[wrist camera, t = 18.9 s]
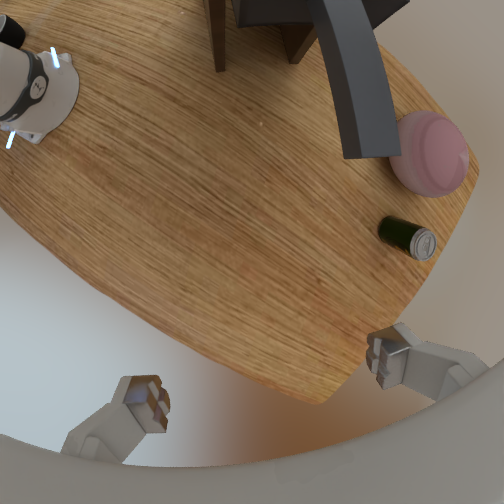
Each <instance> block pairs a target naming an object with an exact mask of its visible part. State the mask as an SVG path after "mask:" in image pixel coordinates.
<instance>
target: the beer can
mask: <svg viewBox="0 0 504 504" xmlns="http://www.w3.org/2000/svg"><path fill="white" fill-rule="evenodd" d="M378 232H379V236H380V238H381V240H382V241H383V242H384V243H386V244H388V245H390V246H391V247H393V248H395V249H397V250H399V251H401V252H403V253H404V254H406V255H408V256H410V257H412V258H413V259H415V260H418V261H427V260H429V259H430V258H431V257H432V256H433V254H434V253H435V250H436V246H437V239H436V236H435V235H434V233H433V232H431V231H430V230H429V229H427V228H425V227H422V226H419V225H417V224H414V223H411V222H408V221H405V220H403V219H400V218H397V217H394V216H389V217H387V218H385V219H383V220H382V221H381V223H380V225H379V229H378Z"/></svg>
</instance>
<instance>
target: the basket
mask: <svg viewBox="0 0 504 504" xmlns="http://www.w3.org/2000/svg"><path fill="white" fill-rule="evenodd" d="M231 1H232V5H233V10H234V14H235V19H236V23H237V28H244V27H254V26H268V25H314V27H315V30H316V33H317V37H318V40H319V44H320V47H321V51H322V55H323V58H324V62H325V66H326V70H327V74H328V78H329V83H330V87H331V91H332V96H333V101H334V105H335V110H336V115H337V121H338V126H339V132H340V138H341V144H342V150H343V157H344V159H361V158H375V157H391V156H401V155H402V153H401V146H400V139H399V133H398V127H397V121H396V116H395V111H394V106H393V101H392V96H391V92H390V88H389V83H388V79H387V76H386V72H385V68H384V64H383V61H382V58H381V54H380V51H379V48H378V45H377V41H376V38H375V36H374V33H373V29H375V28H376V27H377V26H379V25H380V24H381V23H382V22H384V21H385V20H386V19H387V18H389V17H390V16H391V15H393V14H394V13H395V12H396V11H398V10H399V9H401V8H402V7H403V6H405V5H406V4H407V3H408V2H410V0H231Z"/></svg>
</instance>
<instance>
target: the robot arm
mask: <svg viewBox="0 0 504 504" xmlns="http://www.w3.org/2000/svg"><path fill="white" fill-rule="evenodd" d="M51 51H52V53H50V52H47V51H43V52H42V53H38V54H35V53H33V52H31V51H26V50H18V49H16V48H13V47H11V46H9V45H7V44H4V43H2V42H0V124H1V127H0V129H1V130H3V131H10V132H11V134H10V137H9V140H8V143H7V146H6V148H10V145H11V142H12V139H13V136H14V133H16V134H17V135H19V136H21V137H23V138H24V139H26V140H28V141H30V142H31V143H34V144H38V143H40V142H41V140H42V139H43V138H44V137H45V135H46V134H47V133H48V132H50V131H51V130H53V129H55V128H56V127H57V126H59V125H60V124H61V123H62V122H63V121H64V120H65V118H66V117H67V116H68V114H69V113H70V111H71V110H72V108H73V106H74V104H75V101H76V98H77V95H78V90H79V77H78V74H77V72H76V70H75V69H74V67H73V66H72V58H71V55H70V54H68V53H63V54H59V55H56V53H55V49H54V48H53V47H52V48H51ZM33 135H34V136H33ZM367 343H368V345H369V348H368V349H367V351H366V361H367V365H368V367H369V369H370V371H371V372H372V373H375V374H377V377H376V380H377V382H378V383H379V385H380V386H381V387H382V389H383V390H385V389H388V388H391V387H393V386H396V385H398V384H401V383H402V384H403V385H405V386H407V387H409V388H411V389H413V390H415V391H417V392H419V393H421V394H423V395H425V396H427V397H429V398H431V399H433V400H435V401H436V403H434V404H432V405H431V406H428V407H427V408H425V409H423V410H421V411H419V412H417V413H415V414H413V415H410V416H409V417H406V418H404V419H402V420H399V421H397V422H395V423H393V424H390V425H388V426H385V427H383V428H381V429H378V430H376V431H373V432H370V433H368V434H365V435H362V436H359V437H356V438H354V439H351V440H347V441H344V442H341V443H338V444H335V445H332V446H328V447H324V448H321V449H317V450H313V451H309V452H305V453H301V454H296V455H292V456H287V457H282V458H277V459H271V460H265V461H258V462H251V463H244V464H234V465H224V466H210V467H148V466H135V465H125V464H122V462H123V461H124V460H125V459H126V458H127V457H128V455H129V454H130V453H131V452H132V451H133V450H134V448H135V447H136V446H137V445H138V443H139V442H140V441H141V440H142V439H143V438H144V436H145V435H146V433H166V429H167V423H168V420H167V418H166V415H167V414H168V413H169V412H170V399H169V395H168V393H167V391H166V390H165V389H163V388H162V387H161V384H162V381H161V379H160V378H159V376H157V375H142V376H123V377H122V378H121V379H120V382H119V384H118V386H117V389H116V391H115V393H114V396H113V398H112V401H111V403H107V404H106V405H104V406H103V407H102V408H100V409H99V410H98V411H97V412H95V413H94V414H93V415H91V416H90V417H89V418H87V419H86V420H85V421H83V422H82V423H81V424H80V425H78V426H77V427H76V428H74V429H73V430H71V431H70V432H69V434H68V436H67V438H66V440H65V443H64V445H63V447H62V450H61V452H60V453H58V452H54V451H51V450H47V449H43V448H40V447H37V446H34V445H31V444H28V443H24V442H22V441H19V440H16V439H14V438H11V437H9V436H6V435H3V434H0V504H504V358H503V359H502V360H501V361H499V362H498V363H497V364H495V365H494V366H493V367H492V368H489V367H488V366H487V365H486V364H485V363H484V362H483V361H481V360H480V359H479V358H478V357H477V356H476V355H475V354H474V353H471V352H466V351H462V350H458V349H454V348H450V347H447V346H442V345H439V344H435V343H431V342H428V341H425V342H422V341H421V340H420V339H419V338H418V337H417V336H416V335H415V334H414V333H413V332H412V331H411V330H410V329H409V328H408V327H407V326H406V325H405V324H404V323H402V322H400V323H397V324H395V325H392V326H390V327H387V328H384V329H381V330H379V331H375V332H372V333H369V334H368V336H367Z"/></svg>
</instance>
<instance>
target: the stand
mask: <svg viewBox="0 0 504 504" xmlns="http://www.w3.org/2000/svg"><path fill="white" fill-rule="evenodd" d="M203 2H204V8H205V14H206V20H207V25H208V31H209V37H210V42H211V48H212V54H213V59H214V65H215V71H216V72H221V71H225V0H203ZM280 29H281V32H282V36H283V40H284V44H285V48H286V52H287V56H288V60H289V64H298V63H299V62H300V60H301V59H302V58H303V56H304V55H305V53H306V52H307V51H308V49H309V48H310V47H311V45H312V44H313V43H314V41H315V40H316V39H317V33H316V30H315V27H314V25H280Z"/></svg>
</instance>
